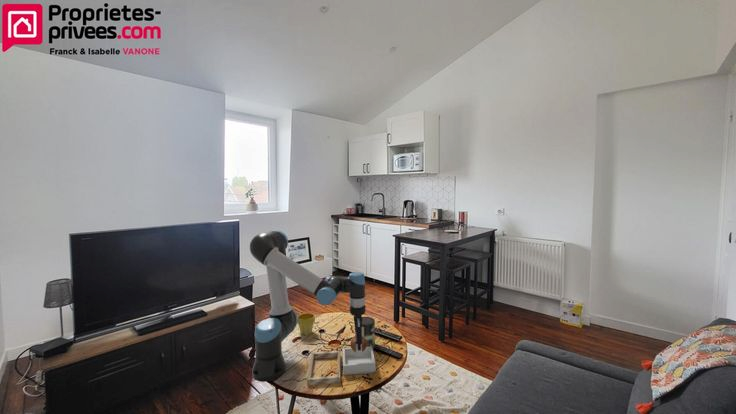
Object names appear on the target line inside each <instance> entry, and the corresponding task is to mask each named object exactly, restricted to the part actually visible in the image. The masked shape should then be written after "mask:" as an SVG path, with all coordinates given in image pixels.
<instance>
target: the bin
mask: <svg viewBox="0 0 736 414" xmlns="http://www.w3.org/2000/svg"><path fill="white" fill-rule="evenodd" d="M376 371H377V370H376V360H375V355H374V348H373V349H372V346H371V347H366V349H365V350H364V351H363V352H362V356H356V352H354V351H353V350H352V348H351V347H343V348H342V373H343V376H350V375H351V376H352V375H364V374H365V375H367V374H376Z"/></svg>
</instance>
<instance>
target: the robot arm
mask: <svg viewBox="0 0 736 414" xmlns="http://www.w3.org/2000/svg"><path fill="white" fill-rule="evenodd" d="M288 246H289V239H288V236H287V235H286V234H285V233H284V232H283V231H281V230H270V231H267V232H263V233H259V234H256V235H255V236H254V237H253V238H252V239H251V241H250V243H249V252H250V254H251V256H252V257H253V258H254V259H255V260H256V261H257V262H259V263H260V264H262V265H263V266H265V267H266V268H265V269H266V276H267V282H268V291H269V297H270V305H271V309H270V310H269V311H268V316H269V317H268V318H265V319H263V320H261V321H260V322H258V323H257V324H256V326H255V329H254V344H255V360H254V363H253V365H252V366H253V367H252V370H251V372H252V374H251V375H252V378H253V380H255V381H256V382H257V381H258V382H262V383H265V382H271V381H275V380H277V379H279V378H281V377H282V376H283V375H284V374H285V373H286V370H287V363H286V361H285V357H284V355H283V352H282V351H283V348H282V343H283V341H284V340H285V339H286V338H287V337H288V336H290V334H292V333H293V331H294V330H295V328H296V327H297V326H298V323H297V322H298V318H297V316H298V314H297V313H296V311H295V310H294V309H293V306H292V305H290V301H289V293H288V286H287V285H288V284H287V278H288V279H290V280H291V281H293V282H294V283H295V284H297V285H298V286H300V287H302V288H303V289H305V290H306V291H308V292H309V293H311V294H312V295H313V296H315V297H316V300H317V302H318V304H320V305H321V306H329V305H330V304H331V303H333V302H335V300H336V298H337V297H338V296H339V295H340V294H341V293H343V294H349V314H351V315H352V316H353V323H354V337H355V336H356V342H355V344H356V356H362V328H361V327H362V317H363V315H365V314H366V300H367V297H366V281H365V279H366V278H365V273H363V272H360V271H355V272H354V271H353V272H351V273H349V275H348V276H338V275H337V276H336V275H331V276H330V275H328V276H326V277H325V280H324V279H323V278H321V277H320V276H318V275H316V274H315V273H313V272H312V271H310V270H308V269H307V268H305V267H304V266H303V265H301V264H299V263H298V262H296V261H295V260H293V259H292V258H290V257H288V256H287V252H286V249H287V248H288Z"/></svg>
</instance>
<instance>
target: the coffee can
mask: <svg viewBox="0 0 736 414" xmlns="http://www.w3.org/2000/svg"><path fill="white" fill-rule="evenodd" d="M375 322H376V320H375V318H374V317H371V316H362V327H361V328H362V336H363V337H364V338H365V339H366V341H367V346H366V347H371V346H372V349H373V350H374V348H375V347H374V345H375V346H376V340H375V339H376V337H375V335H376V333H375V331H376V328H375V327H376V325H375V324H376V323H375ZM373 347H374V348H373Z"/></svg>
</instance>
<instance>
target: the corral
mask: <svg viewBox="0 0 736 414" xmlns="http://www.w3.org/2000/svg"><path fill="white" fill-rule="evenodd" d="M328 358H329V359H330V358H337V375H333V376H331V375H330V376H317V377H312V374H313V368H314V362H315V359H328ZM306 380H307V381H306V383H307V384H306V385H307V386H313V385H329V384H341V351H340V350H334V351H317V352H315V351H314V352H311V356H310V362H309V367H308V373H307V378H306Z"/></svg>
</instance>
